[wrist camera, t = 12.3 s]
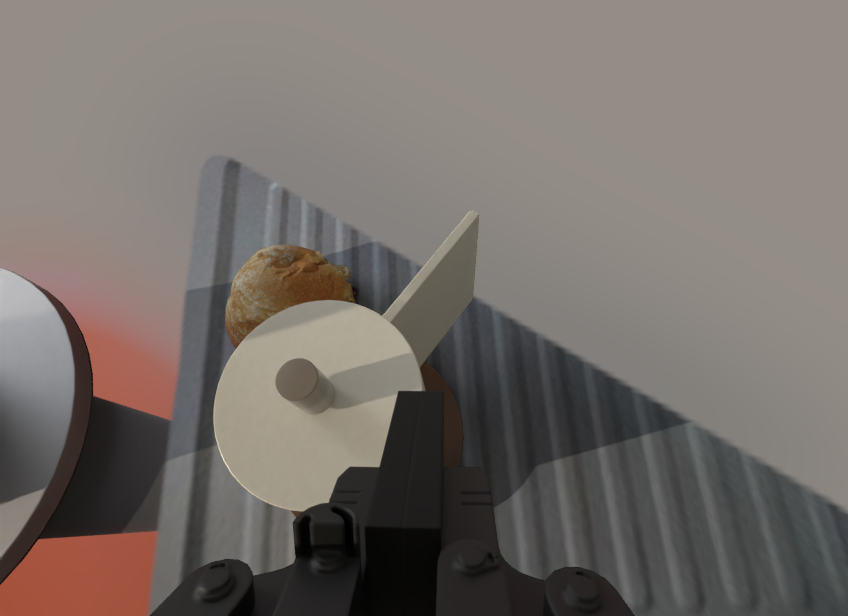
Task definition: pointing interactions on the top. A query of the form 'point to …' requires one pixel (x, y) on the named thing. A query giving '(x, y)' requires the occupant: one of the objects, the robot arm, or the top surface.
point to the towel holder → (317, 394)
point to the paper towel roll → (336, 379)
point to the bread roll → (282, 286)
